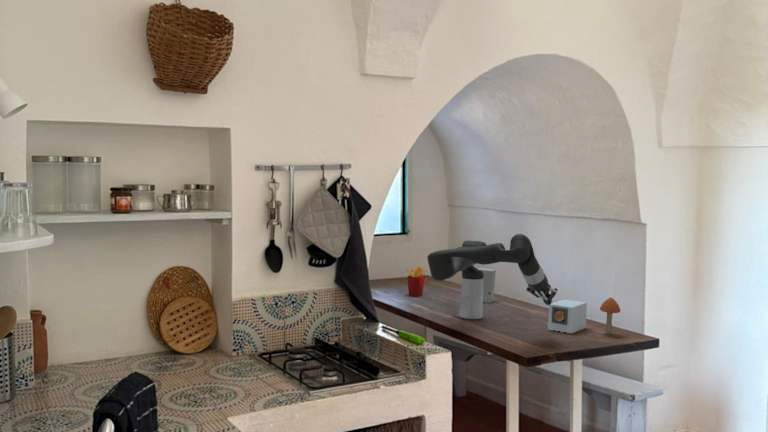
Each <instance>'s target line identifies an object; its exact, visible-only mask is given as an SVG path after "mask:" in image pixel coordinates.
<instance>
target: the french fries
mask: <svg viewBox="0 0 768 432" xmlns="http://www.w3.org/2000/svg"><path fill="white" fill-rule="evenodd" d="M406 271H407V272H408V274H409V275H407V277H406V279H407V290H408V296H409V297H415V298H419V297H422V296H423V294H424V285H425V280H426V279H425V277H426V276H425V275H424V274H426V273H427V270H425V269H423V268H422V267H421V266H419V265H417V266H416V268H415V270H414V269H407V270H406Z"/></svg>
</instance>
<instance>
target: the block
mask: <svg viewBox="0 0 768 432" xmlns="http://www.w3.org/2000/svg"><path fill="white" fill-rule="evenodd" d="M587 307H588V302H585V301H578V300H572V299H571V300H570V299H561V300H558V301H554V302H551V304H550V305H548V317H547V319H548V322H547V330H548V331H553V330H555V331H554V332H558V331H560V332H559V333H564V332H566V334H570V333H571V334H574V333H576V332H579V331H581V330H584V329H586V328H587V309H588V308H587ZM560 310H562V311H565V320H562V321H558V320H557V319H556V318H555V313H556V312H557V311H560Z"/></svg>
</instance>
